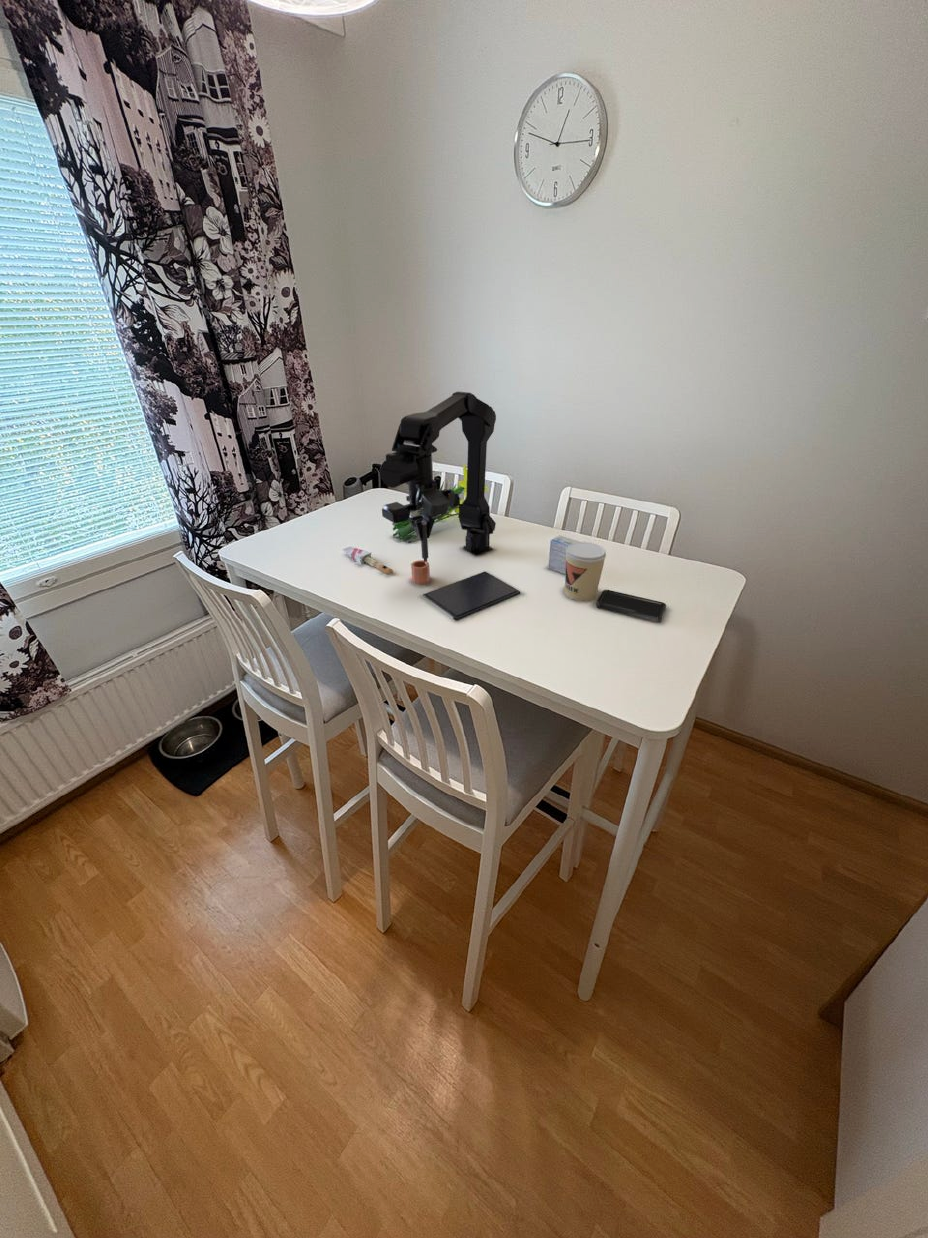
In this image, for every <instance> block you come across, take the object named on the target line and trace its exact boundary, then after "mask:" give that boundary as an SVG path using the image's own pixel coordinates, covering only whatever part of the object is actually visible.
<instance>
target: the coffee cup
mask: <svg viewBox="0 0 928 1238" xmlns="http://www.w3.org/2000/svg"><path fill="white" fill-rule="evenodd" d="M606 557H607V552H606V549H605V548H604V547H603V546H601V545H600V544H597V543H594V542H589V541H580V542H577V543H573V544H571V545H569V546H568V548H567V550H566V572H565V574H564V575H565V576H564V593H565V595H566V596H567V597H568V598H569V599H571V600H574V601H578V602H586V601H587V602H588V601H592V600H593V599H595V598H596V596H597V593H598V589H599V586H600V582H601V576H602V572H603V568H604V564H605V559H606Z"/></svg>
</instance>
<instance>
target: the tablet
mask: <svg viewBox="0 0 928 1238" xmlns="http://www.w3.org/2000/svg"><path fill="white" fill-rule="evenodd" d="M422 595H423V597H425V598H426V599H427V600H429V601H430V602H432V603H433V604H434V605H436V606H437V607H438V608H440V609H441V610H443V611H444V612H446V613H447V614H448V615H450V616H451V617H453V618H452V619H453V620H454V621H456V622H458V621H460V620H462V619H465V618H467V617H470V616H472V615H474V614H476V613H479V612H481V611H483V610H485V609H489V608H491V607H493V606H495V605H498V604H501V603H503V602H504V601H507V600H510V599H513V598H514V597H516V596H519V595H521V591H520V590H518V589H517V588H515V587H514V586H512V585H510V584H508V583H507V582H504V581H503V580H501V579H499V578H497V577H496V576H495V575H492V574H490V573H489V572H487V571H482V572H480V573H476V574H474V575H471V576H469V577H467V578H464V579H461V580H458V581H456V582H453V583H450V584H447V585H445V586H441V587H439V588H437V589H434V590H432V591H428V592H426V593H423V594H422Z"/></svg>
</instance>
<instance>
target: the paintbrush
mask: <svg viewBox="0 0 928 1238" xmlns="http://www.w3.org/2000/svg"><path fill="white" fill-rule="evenodd" d="M342 551H343V552H344V553H346V554H347V556H349V557H350V558H352V559H353V560H354V561H355V562H356V563H358V564H360V565H363V564H365V563H366V564H368V565H370V566H372V567H373V568H374V569H376V570H379V571H380V572H383V573H384V574H386V575H390V574H393V569H392V568H391V567H389V566H387V565H385V564H383V563H381V562H380V561H378V560H376V559H374V558H372V552H371V551H369V550H368V551H367V550H364V549H360V548H357V547H354V546H348V547H345V548H343V549H342Z"/></svg>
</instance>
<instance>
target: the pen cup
mask: <svg viewBox="0 0 928 1238" xmlns="http://www.w3.org/2000/svg"><path fill="white" fill-rule="evenodd" d="M410 569H411V581H412V583H414V584H417V585H425V584H427V583H429V582H430V581H431V574H430V563H429V561H427V562H424V559H423V560H422V559H421V560H415V561H413V562H411V564H410Z"/></svg>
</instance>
